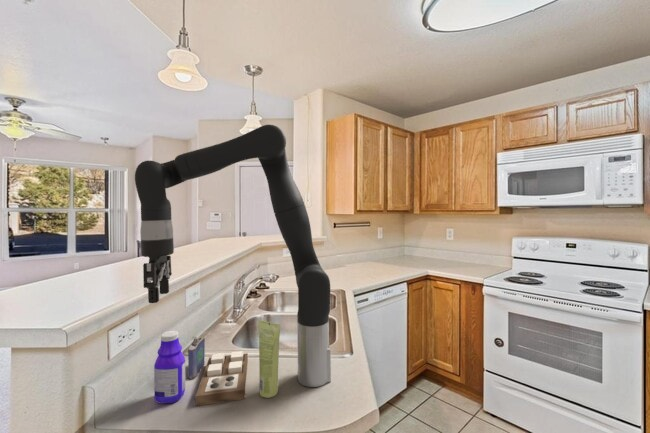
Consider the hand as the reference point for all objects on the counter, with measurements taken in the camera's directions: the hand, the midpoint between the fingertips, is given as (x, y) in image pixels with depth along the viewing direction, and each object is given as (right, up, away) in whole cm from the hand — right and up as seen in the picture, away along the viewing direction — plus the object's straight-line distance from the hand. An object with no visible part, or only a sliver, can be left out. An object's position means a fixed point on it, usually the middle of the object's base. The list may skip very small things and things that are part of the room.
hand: (159, 297), depth 77 cm
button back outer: (+11, -25, +14) cm, 30 cm away
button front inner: (+18, -25, +9) cm, 32 cm away
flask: (+4, -27, +13) cm, 30 cm away
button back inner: (+16, -25, +15) cm, 33 cm away
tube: (+29, -27, +2) cm, 40 cm away
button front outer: (+12, -25, +8) cm, 29 cm away
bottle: (+3, -27, 0) cm, 27 cm away
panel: (+15, -26, +8) cm, 31 cm away
